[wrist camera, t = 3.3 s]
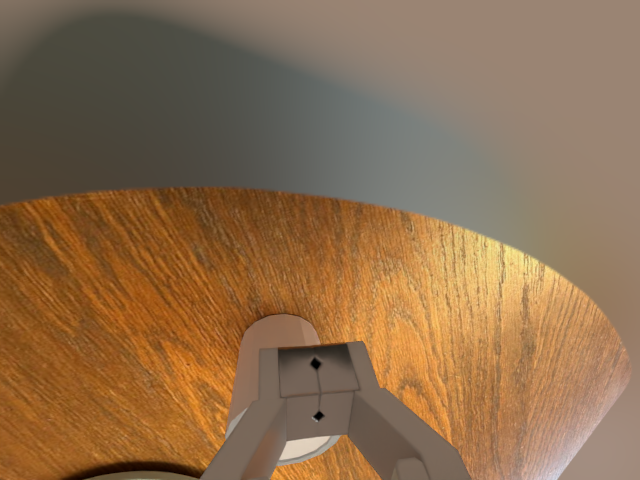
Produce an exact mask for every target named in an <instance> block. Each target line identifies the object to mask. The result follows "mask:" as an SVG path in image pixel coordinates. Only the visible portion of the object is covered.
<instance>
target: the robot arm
mask: <svg viewBox="0 0 640 480" xmlns="http://www.w3.org/2000/svg"><path fill="white" fill-rule="evenodd" d="M347 434H348V437H349V438H350V439H351V441H352V442H353V443H354V444H355V446H356V447H357V448H358V449H359V451H360V452H361V453H362V454H363V456H364V457H365V458H366V459H367V461H368V462H369V463H370V464H371V466H372V467H373V468H374V469H375V471H376V472H377V473H378V474H379V476H380V477H381V478H382V479H383V480H472V479H471V477H470V475H469V473H468V471H467V469H466V467H465V465H464V463H463V460H462V458H461V456H460V454H459V452H458V450H457V449H455V448H454V447H453V446H452V445H451V444H450V443H449V442H447V441H446V440H445V439H444V438H443V437H442V436H440V435H439V434H438V433H437V432H436V431H435V430H433V429H432V428H431V427H430V426H429V425H428V424H426V423H425V422H424V421H423V420H422V419H421V418H419V417H418V416H417V415H416V414H415V413H414V412H413V411H411V410H410V409H409V408H408V407H407V406H406V405H404V404H403V403H402V402H401V401H400V400H399V399H397V398H396V397H395V396H394V395H393V394H392V393H390V392H389V391H388V390H387V389H386V388H380V386H379V384H378V381H377V378H376V375H375V372H374V369H373V366H372V363H371V360H370V358H369V355H368V352H367V349H366V346H365V343H364V342H363V341H356V342H346V343H345V342H343V343H331V344H320V345H312V346H294V347H278V350H277V348H260V349H259V376H258V400H256V401H252V403H251V404H250V406H249V407H248V409H247V410H246V412H245V413H244V414H243V416H242V417H241V419H240V420H239V422H238V423H237V425H236V426H235V428H234V429H233V431H232V432H231V434H230V435H229V436H228V438H227V439H226V441H225V442H224V444H223V445H222V447H221V448H220V450H219V451H218V453H217V454H216V455H215V457H214V458H213V460H212V461H211V463H210V464H209V466H208V467H207V469H206V470H205V472H204V473H203V475H202V476H201V477H200V479H199V480H270V478H271V476H272V474H273V472H274V469H275V467H276V465H277V463H278V461H279V459H280V457H281V454H282V452H283V450H284V448H285V446H286V441H293V440H300V439H307V438H314V437H324V436H335V435H347Z"/></svg>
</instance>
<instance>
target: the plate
mask: <svg viewBox="0 0 640 480" xmlns="http://www.w3.org/2000/svg"><path fill="white" fill-rule="evenodd" d="M84 480H199V479H197V478H194V477H190V476H186V475H181V474H176V473H170V472H162V471H129V472H120V473H113V474H107V475H101V476H96V477H92V478H88V479H84Z"/></svg>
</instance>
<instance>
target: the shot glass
mask: <svg viewBox="0 0 640 480" xmlns="http://www.w3.org/2000/svg"><path fill="white" fill-rule="evenodd" d="M312 345H320V341H319V338H318V335H317V332H316V331H315V329H314V328H313V326H312V325H311V323H309V322H308V321H306V320H304V319H303V318H301V317H299V316H294V315H288V314H279V315H271V316H267V317H265V318H263V319H261V320H258V321H256V322H254V323H253V324H252V325H251V326H250V327H249V328H248V329H247V330H246V331H245V333H244V336H243V338H242V341H241V345H240V351H239V357H238V363H237V369H236V375H235V380H234V386H233V392H232V398H231V404H230V410H229V416H228V422H227V428H226V433H225V438H226V439H227V438H228V436H229V435H230V434H231V432H232V431H233V429H234V428H235V426H236V425H237V423H238V422H239V420H240V419H241V417H242V416H243V414H244V413H245V412H246V410H247V409H248V407H249V406H250V404H251V403H252V401H256V400H258V376H259V349H260V348H277V350H278V347H294V346H312ZM340 436H341V435H335V436H324V437H314V438H307V439H300V440H293V441H286V446H285V448H284V450H283V452H282V454H281V457H280V459H279V461H278V463H277V465H276V466H282V465H287V464H293V463H299V462H303V461H305V460H308V459H310V458H313V457H315V456H317V455H320V454H322V453H323V452H324V451H326V450H327V449H328V448H330V447H331V446H332V445H334V444H335V443H336V442H337V440H338V439H339V437H340Z"/></svg>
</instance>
